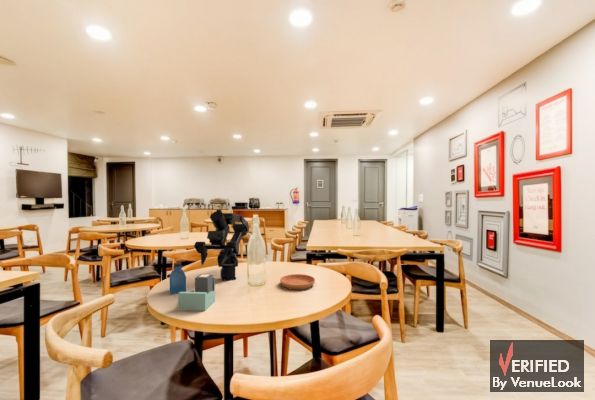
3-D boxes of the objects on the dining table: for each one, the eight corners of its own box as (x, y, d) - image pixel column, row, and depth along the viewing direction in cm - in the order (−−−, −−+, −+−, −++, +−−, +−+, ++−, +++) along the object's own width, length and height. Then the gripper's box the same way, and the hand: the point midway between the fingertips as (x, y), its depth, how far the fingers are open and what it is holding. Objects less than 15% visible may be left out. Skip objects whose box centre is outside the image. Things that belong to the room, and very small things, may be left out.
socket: (190, 300, 100) (190, 285, 100) (214, 301, 99) (214, 285, 99) (178, 310, 91) (178, 293, 91) (205, 310, 91) (205, 293, 91)
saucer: (321, 288, 114) (321, 281, 114) (287, 293, 108) (286, 286, 108) (306, 278, 129) (306, 272, 129) (275, 282, 123) (275, 276, 123)
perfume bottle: (169, 294, 107) (169, 265, 107) (169, 290, 113) (169, 262, 113) (186, 292, 110) (186, 263, 110) (185, 287, 115) (184, 260, 115)
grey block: (200, 295, 104) (200, 273, 105) (214, 296, 104) (214, 273, 104) (193, 301, 99) (193, 277, 99) (208, 301, 98) (208, 277, 98)
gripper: (195, 223, 115) (182, 253, 104) (236, 223, 113) (228, 254, 102) (203, 238, 123) (192, 267, 112) (242, 238, 121) (234, 268, 110)
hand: (211, 264), depth 109 cm, fingers open, 8 cm apart
